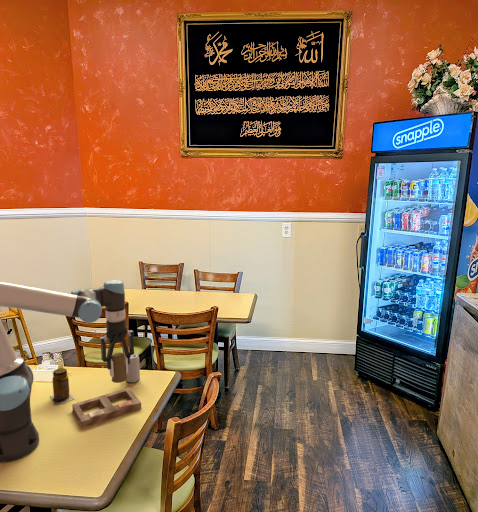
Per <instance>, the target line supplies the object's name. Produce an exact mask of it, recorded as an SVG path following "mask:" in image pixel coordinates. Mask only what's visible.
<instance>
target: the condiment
mask: <svg viewBox="0 0 478 512" xmlns="http://www.w3.org/2000/svg"><path fill="white" fill-rule="evenodd" d="M69 380H70V379H69V374H68V370H67V369H66V368H64V367H63V368H56V369H55V370H54V371H52V391H53V394H52V395H50V398H51V400H52V402H53V403H54V405H55V406H56V405H61V404H64V403H68V402H70V401H72V400H75V399H74V397H73V395H72V393H70V384H69V383H70V382H69Z"/></svg>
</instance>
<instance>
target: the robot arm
mask: <svg viewBox="0 0 478 512" xmlns="http://www.w3.org/2000/svg"><path fill="white" fill-rule="evenodd" d="M125 294H126V292H125V284H124V282H123V281H122V280H119V279H112V280H111V279H110V280H106V281H105V282H103V286H100V287H94V288H83V289H82V288H79V289H75V290H72V291H71V292H70V293H68V292H67V293H66V292H61V291H55V290H49V289H45V288H39V287H32V286H28V285H21V284H15V283H10V282H4V281H0V307H3V308H10V309H16V310H24V311H29V312H30V311H31V312H35V313H36V312H38V313H43V314H44V313H45V314H50V315H51V314H52V315H58V316H66V317H70V318H71V317H72V318H76V319H77V318H78V319H80V320H81V321H83V322H84V323H88V324H91V323H94V322H96V321H98V320H99V319H100V318H101V316H102V314H103V313H102V311H103V310H102V308H103V307H104V308H105V320H106V321H105V325H106V326H105V327H106V333H105V334H104V336H99V337H98V340H99V342H100V355H101V361H103V363H106V368H107V370H108V371H109V375H110V377H111V379H112V378H113V377H114V369H113V361H112V355H113V354H114V349H115V347H116V343H120V344H121V347H122V350H123V354H124V355H125V360H124V364H125V369H126V374H127V373H128V364H130V357H131V355H134V353H135V344H134V335H135V331H133V330H132V329H130V330H129V329H127V320H126V317H127V316H126V296H125ZM126 336H127V338H128V339H127V340H128V346H127V343H126V340H125V338H126ZM107 339H108V341H109V342H108V347H107V344H106V342H107ZM33 382H34V374H33V371H32V368H31V367H30V365H28V364H27V363H26V362H25V359H24V358H23V357H21V356H17V353H16V351H15V349H14V346H13V345H12V341H11V340H10V338H9V335H8V333H7V331H6V329H5V327H4V324H3V321H2V319H1V318H0V463H10V462H13V461H17V460H20V459H22V458H24V457H27V456H28V455H30V454H31V453H32V452H33V451H34V450H35V449H37V447H38V446H39V444H40V434H39V431H38V430H37V428H36V426H35V424H34V422H33V419H32V411H31V395H32V394H31V393H32V388H33V384H34V383H33Z"/></svg>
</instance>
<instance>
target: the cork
mask: <svg viewBox="0 0 478 512" xmlns="http://www.w3.org/2000/svg"><path fill="white" fill-rule="evenodd" d="M125 356H126V355H125V353H124V352H119V351H117V352H115V353H113V354H112V359H111V360H112V361H113V369H114V377H113V378H112V377H111V382H112V383H114V384H119V383H123V382H126V380H127V374H126V369H125V364H124V360H125Z"/></svg>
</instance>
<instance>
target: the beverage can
mask: <svg viewBox="0 0 478 512" xmlns="http://www.w3.org/2000/svg"><path fill="white" fill-rule="evenodd" d="M140 371H141V370H140V356H139V353H137V352H136V353H135V352H134V355H131V357H130V364H128V373H127V380H126V381H127V382H128V383H137V382H138V381H139V380H140V379H141V373H140ZM126 381H125V382H126Z"/></svg>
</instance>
